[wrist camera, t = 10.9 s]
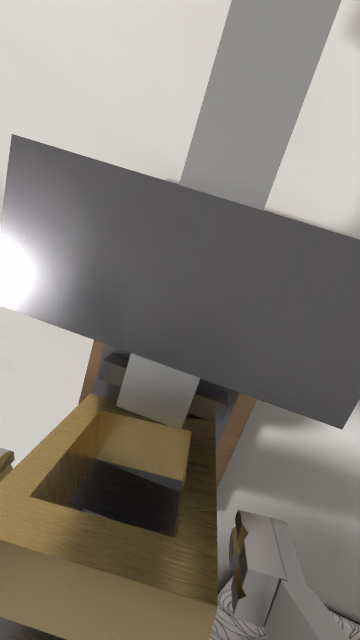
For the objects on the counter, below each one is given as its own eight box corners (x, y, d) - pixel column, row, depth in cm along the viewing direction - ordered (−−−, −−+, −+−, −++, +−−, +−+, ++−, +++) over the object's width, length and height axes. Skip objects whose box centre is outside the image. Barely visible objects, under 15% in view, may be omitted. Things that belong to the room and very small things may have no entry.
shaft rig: (201, 507, 20) (181, 868, 8) (73, 455, 21) (-123, 711, 9) (319, 236, 15) (818, 66, 3) (141, 181, 16) (-114, -141, 3)
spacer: (205, 467, 11) (196, 685, 5) (86, 438, 12) (-40, 603, 6) (215, 422, 11) (217, 606, 5) (90, 393, 11) (-45, 526, 5)
